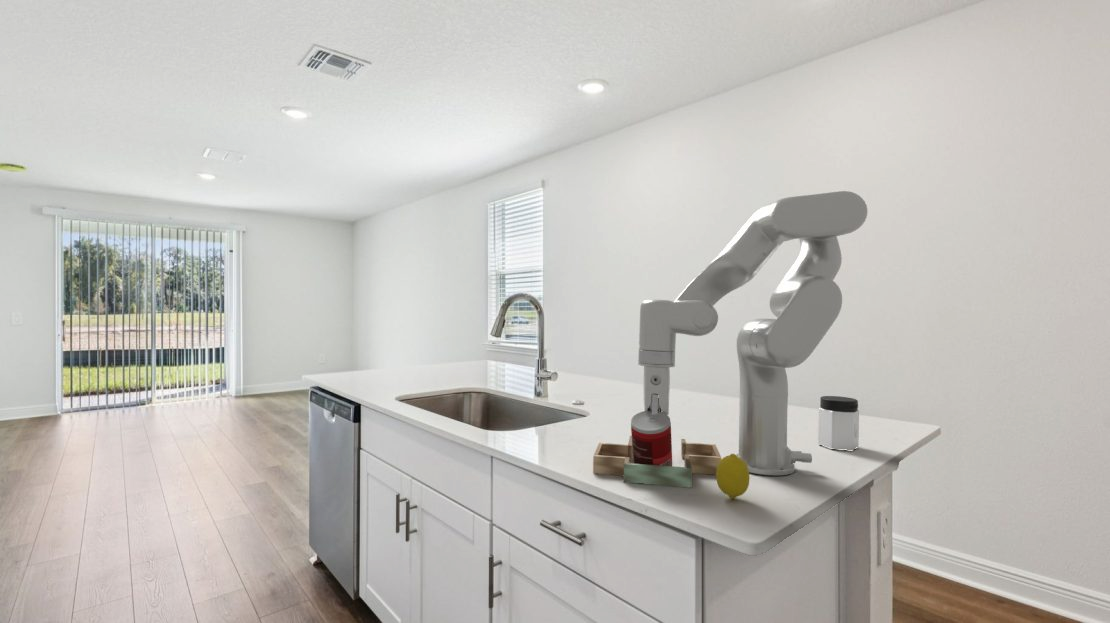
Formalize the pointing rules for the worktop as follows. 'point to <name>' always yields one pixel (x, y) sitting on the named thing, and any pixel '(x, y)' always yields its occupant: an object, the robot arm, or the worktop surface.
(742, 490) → the lemon
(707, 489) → the worktop surface
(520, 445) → the worktop surface
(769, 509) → the worktop surface
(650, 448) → the canned food
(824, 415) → the jar
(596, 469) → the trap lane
